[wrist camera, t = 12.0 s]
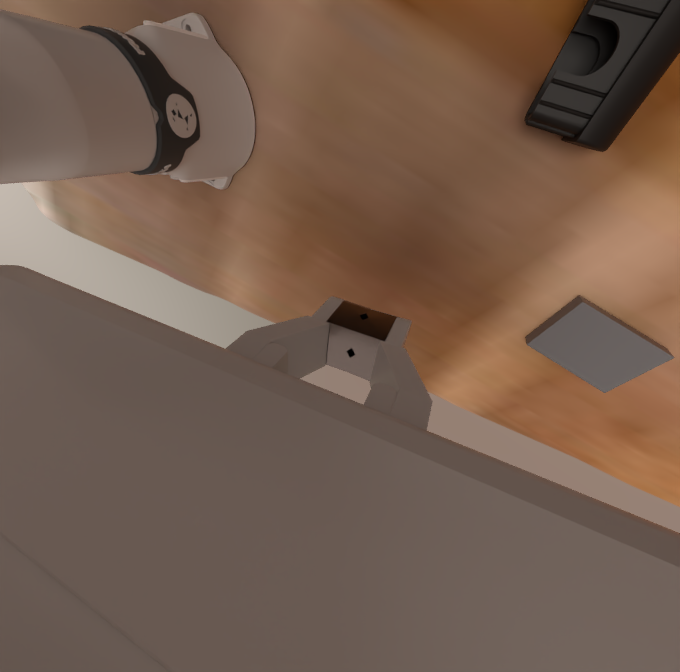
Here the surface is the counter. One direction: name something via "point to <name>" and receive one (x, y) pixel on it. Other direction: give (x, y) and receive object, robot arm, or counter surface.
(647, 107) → the counter surface
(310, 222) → the counter surface
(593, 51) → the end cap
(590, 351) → the slate tile
